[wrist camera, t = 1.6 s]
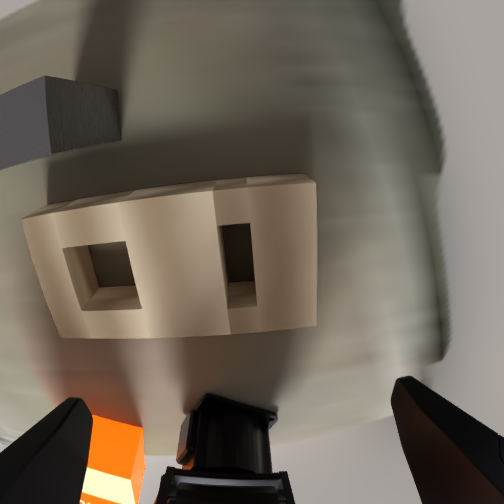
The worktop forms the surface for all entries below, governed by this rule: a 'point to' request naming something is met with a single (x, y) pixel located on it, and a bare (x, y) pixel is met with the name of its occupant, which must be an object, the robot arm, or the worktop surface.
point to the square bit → (55, 119)
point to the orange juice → (114, 464)
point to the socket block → (181, 259)
